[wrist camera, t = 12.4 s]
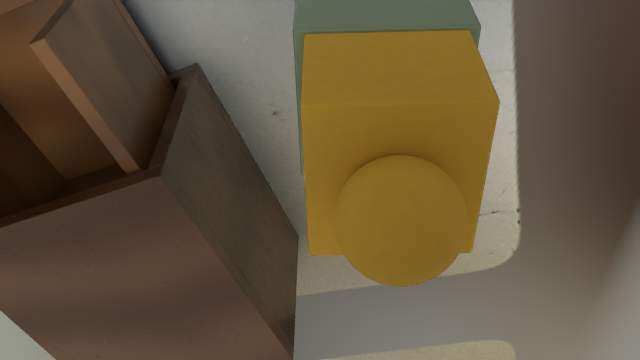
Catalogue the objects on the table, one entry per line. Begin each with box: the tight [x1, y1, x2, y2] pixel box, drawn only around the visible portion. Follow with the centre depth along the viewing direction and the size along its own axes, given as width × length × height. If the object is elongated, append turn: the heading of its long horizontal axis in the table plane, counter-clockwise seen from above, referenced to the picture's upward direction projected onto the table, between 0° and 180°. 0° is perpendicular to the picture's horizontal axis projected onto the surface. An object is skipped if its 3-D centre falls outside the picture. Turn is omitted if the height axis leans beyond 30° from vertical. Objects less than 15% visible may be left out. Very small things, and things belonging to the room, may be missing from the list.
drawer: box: [0, 0, 176, 218], centre depth 29 cm, size 18×12×8 cm, turn 22°
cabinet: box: [0, 63, 298, 360], centre depth 36 cm, size 15×13×10 cm
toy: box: [301, 30, 500, 287], centre depth 15 cm, size 5×4×6 cm
